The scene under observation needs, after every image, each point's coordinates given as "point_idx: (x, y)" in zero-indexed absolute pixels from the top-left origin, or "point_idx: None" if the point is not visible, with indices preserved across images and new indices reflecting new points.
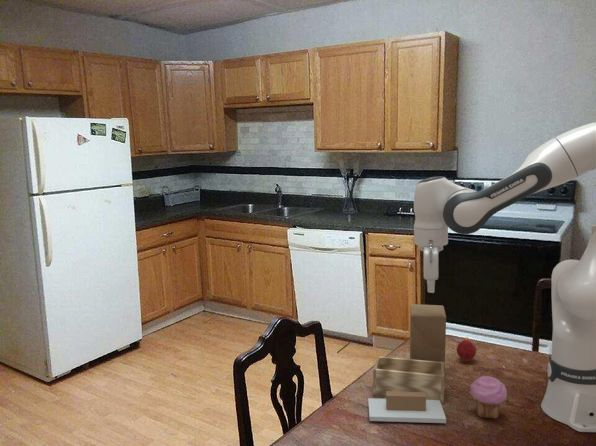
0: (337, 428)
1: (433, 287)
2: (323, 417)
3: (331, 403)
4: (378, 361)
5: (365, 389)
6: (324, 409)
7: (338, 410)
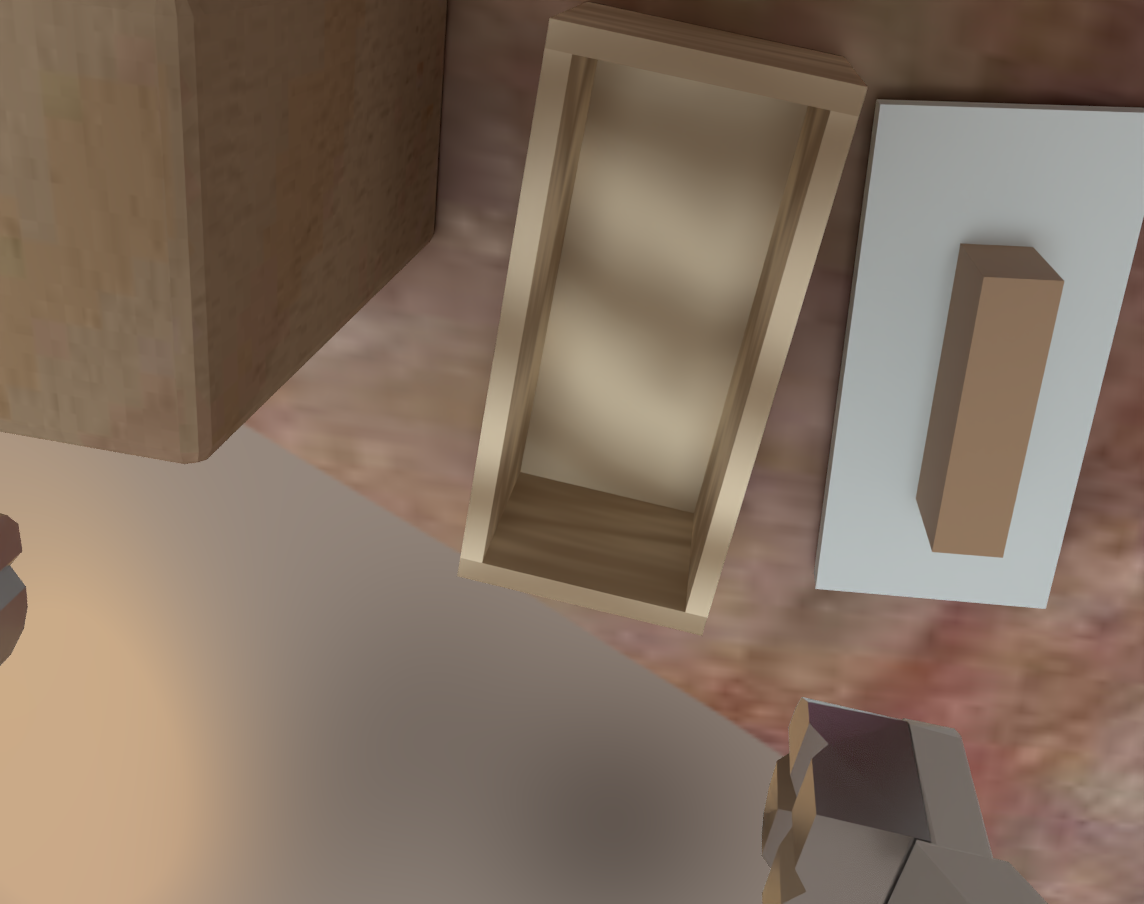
0: (1062, 743)
1: (974, 849)
2: None
3: (786, 746)
4: (553, 579)
5: None
6: None
7: None
